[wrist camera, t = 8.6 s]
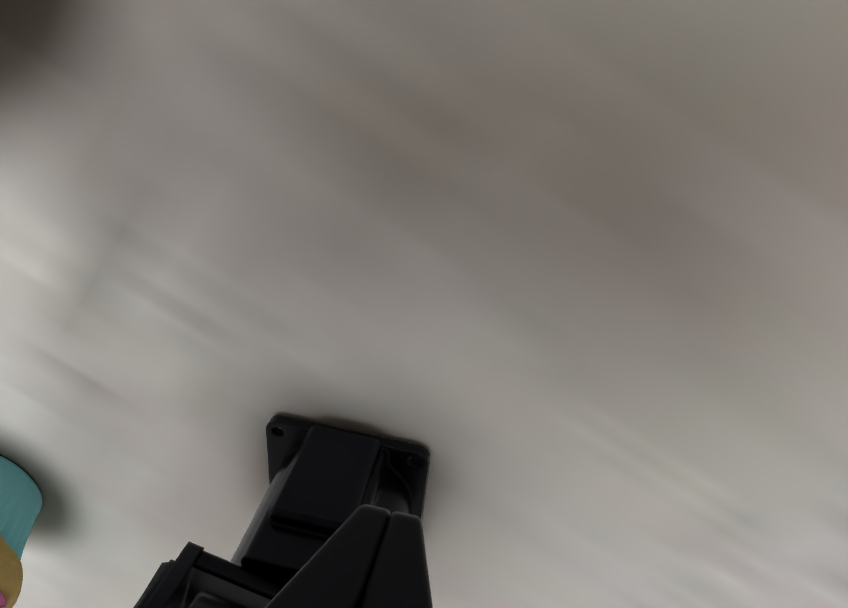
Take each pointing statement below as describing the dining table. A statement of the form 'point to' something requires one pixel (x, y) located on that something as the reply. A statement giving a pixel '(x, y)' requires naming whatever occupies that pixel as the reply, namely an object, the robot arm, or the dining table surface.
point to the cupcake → (15, 526)
